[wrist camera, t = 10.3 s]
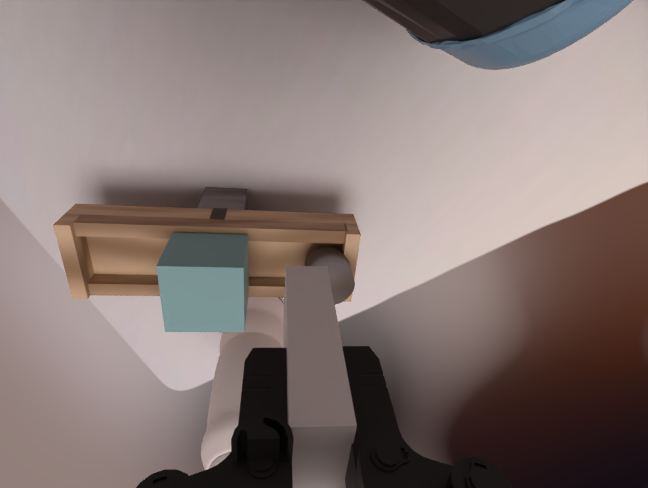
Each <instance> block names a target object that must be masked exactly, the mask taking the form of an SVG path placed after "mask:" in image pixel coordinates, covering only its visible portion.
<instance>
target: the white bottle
mask: <svg viewBox="0 0 648 488" xmlns="http://www.w3.org/2000/svg"><path fill="white" fill-rule="evenodd" d="M283 319H284V304H283V303H282V301H281V300H280V299H279V298H278V297H248V305H247V314H246V323H245V332H223V333H222V337H221V342H220V356H219V360H218V363H217V367H216V371H215V376H214V381H213V386H212V391H211V397H210V404H209V411H208V422H207V431H206V433H205V435H204V437H203V441H202V446H201V458H202V462H203V465H204V469H205V470H207V469H210V468H212V467H214V466H216V465H218V464H219V463H220V462H222V461H223V460H224V459H225V458H226V457H227V456H228V455H229V454H230V452H231V439H232V436H233V433H234V430H235V428H236V427H237V426H238V421H239V412H240V402H241V392H242V382H243V372H244V363H245V359H246V358H247V356H248V355H249V353H250V352H251V350H252V349H253V348H283Z"/></svg>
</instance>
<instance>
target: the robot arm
mask: <svg viewBox="0 0 648 488" xmlns="http://www.w3.org/2000/svg"><path fill="white" fill-rule="evenodd" d="M363 1H364V2H366V3H367V4H369V5H370V6H372V7H373V8H375V9H377V10H378V11H380V12H381V13H383V14H384V15H386V16H387V17H389V18H391V19H392V20H394V21H395V22H397V23H398V24H400V25H401V26H403V27H405V28H406V30H407V31H408V33H409V34H410V35H411V36H412V37H413V38H414V39H416V40H417V41H418V42H420V43H421V44H423V45H424V44H426V45H428V46H430V47H431V48H436V49H441V50H443V51H445V52H447V53H448V54H450V55H452V56H454V57H455V58H457V59H459V60H461V61H462V62H464V63H466V64H468V65H471V66H474V67H477V68H482V69H489V70H499V69H509V68H514V67H519V66H522V65H526V64H529V63H532V62H535V61H538V60H540V59H543V58H545V57H548V56H550V55H552V54H554V53H556V52H558V51H560V50H562V49H564V48H566V47H568V46H570V45H571V44H573V43H575V42H577V41H578V40H580V39H582V38H583V37H585V36H587V35H588V34H590V33H591V32H593V31H594V30H596V29H597V28H599V27H600V26H601V25H603V24H604V23H606V22H607V21H608V20H610V19H611V18H612V17H614V16H615V15H616V14H618V13H619V12H620V11H621V10H623V9H624V8H625V7H626V6H627V5H629V4H630V3H631V2H632V1H633V0H363ZM345 486H346V488H513V487H512V485H511V484H510V483H509V481H508V480H507V479H506V477H505V476H504V475H503V474H502V473H501V472H500V471H499V470H498V468H496V467H495V466H494V465H492V464H491V463H489V462H487V461H486V460H483V459H480V458H476V457H465V458H462V459H460V460H459V461H457V462H456V463H455V465H454V466H451V465H448V464H444V463H440V462H437V461H434V460H430V459H428V458H425V457H422V456H421V455H419V454H418V453H416V452H414V451H413V450H412V449H411V448H410V446H408V445H407V444H406V442H405V441H404V439H403V438H402V436H401V434H400V431H399V428H398V425H397V421H396V418H395V414H394V410H393V407H392V403H391V400H390V397H389V393H388V389H387V388H386V382H385V379H384V376H383V372H382V368H381V365H380V361H379V358H378V357H377V356H376V355H375V353H374V352H373V351H372V350H371V348H370V347H369V346H360V347H359V346H348V347H347V346H344V347H343V346H342V343H341V337H340V332H339V327H338V321H337V316H336V310H335V305H334V299H333V294H332V289H331V283H330V278H329V272H328V267H326V266H286V276H285V297H284V319H283V348H253V349H252V350H251V352H250V353H249V355H248V356H247V358H246V359H245V363H244V372H243V382H242V392H241V402H240V412H239V421H238V426H237V427H236V428H235V430H234V433H233V436H232V439H231V452H230V454H229V455H228V456H227V457H226V458H225V459H224V460H223V461H222V462H220V463H219V464H218V465H216V466H214V467H212V468H210V469H207V470H205V471H202V472H199V473H196V474H194V475H191V476H188V474H186V473H183V472H181V471H179V470H162V471H159V472H157V473H154V474H152V475H150V476H149V477H147V478H146V479H145V480H143V481H142V482H140V484H139V485H138V486H137V487H136V488H345Z"/></svg>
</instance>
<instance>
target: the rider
mask: <svg viewBox="0 0 648 488" xmlns="http://www.w3.org/2000/svg"><path fill="white" fill-rule="evenodd" d="M156 268H157V275H158V283H159V290H160V297H161V305H162V312H163V319H164V326H165V332H245V323H246V314H247V305H248V296H249V260H248V235H238V234H205V233H172V235H171V237H170V239H169V241H168V243H167V245H166V247H165V249H164V251H163V253H162V255H161V257H160V259H159V261H158V263H157V265H156Z"/></svg>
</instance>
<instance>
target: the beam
mask: <svg viewBox="0 0 648 488" xmlns="http://www.w3.org/2000/svg"><path fill="white" fill-rule="evenodd" d="M53 227H54V230H55V234H56V238H57V241H58V245H59V249H60V253H61V256H62V260H63V264H64V268H65V271H66V275H67V279H68V282H69V286H70V290H71V294H72V297H73V299H88V298H89V296H90V295H115V296H160V290H159V283H158V275H157V268H156V265H157V263H158V261H159V259H160V257H161V255H162V253H163V251H164V249H165V247H166V245H167V243H168V241H169V239H170V237H171V235H172V233H205V234H238V235H248V260H249V296H248V297H285V276H286V266H326V267H328V272H329V278H330V283H331V289H332V294H333V299H334V305H335V304H339V303H341V302H351V298H352V292H353V290H354V285H355V282H354V277H355V270H356V263H357V256H358V249H359V243H360V236H361V234H360V231H359V229H358V226H357V223H356V220H355V218H354V215H353V214H336V213H309V212H283V211H256V210H247V189H237V188H214V187H206V188H205V190H204V193H203V195H202V198H201V200H200V202H199V205H198V207H197V208H176V207H150V206H123V205H96V204H75V205H74V206H73V207H72V208H71V209H70V210H69V211H68V212H66V213H65V214H64V215H63V216H62V217H61V218H60V219H59V220H58V221H57V222H56V223H55V224H54V225H53Z"/></svg>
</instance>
